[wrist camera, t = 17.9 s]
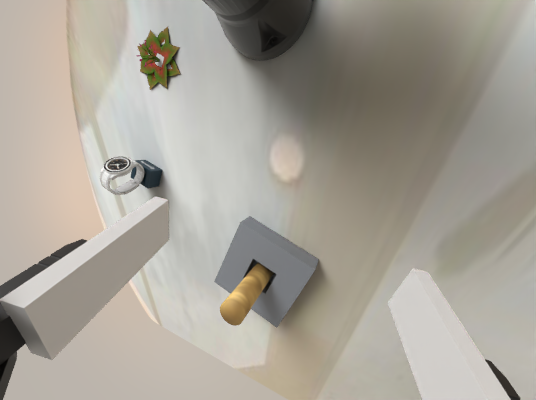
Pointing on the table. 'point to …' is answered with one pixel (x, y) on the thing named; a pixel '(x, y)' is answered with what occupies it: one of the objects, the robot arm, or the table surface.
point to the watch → (140, 174)
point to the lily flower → (149, 61)
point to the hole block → (272, 257)
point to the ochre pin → (245, 295)
